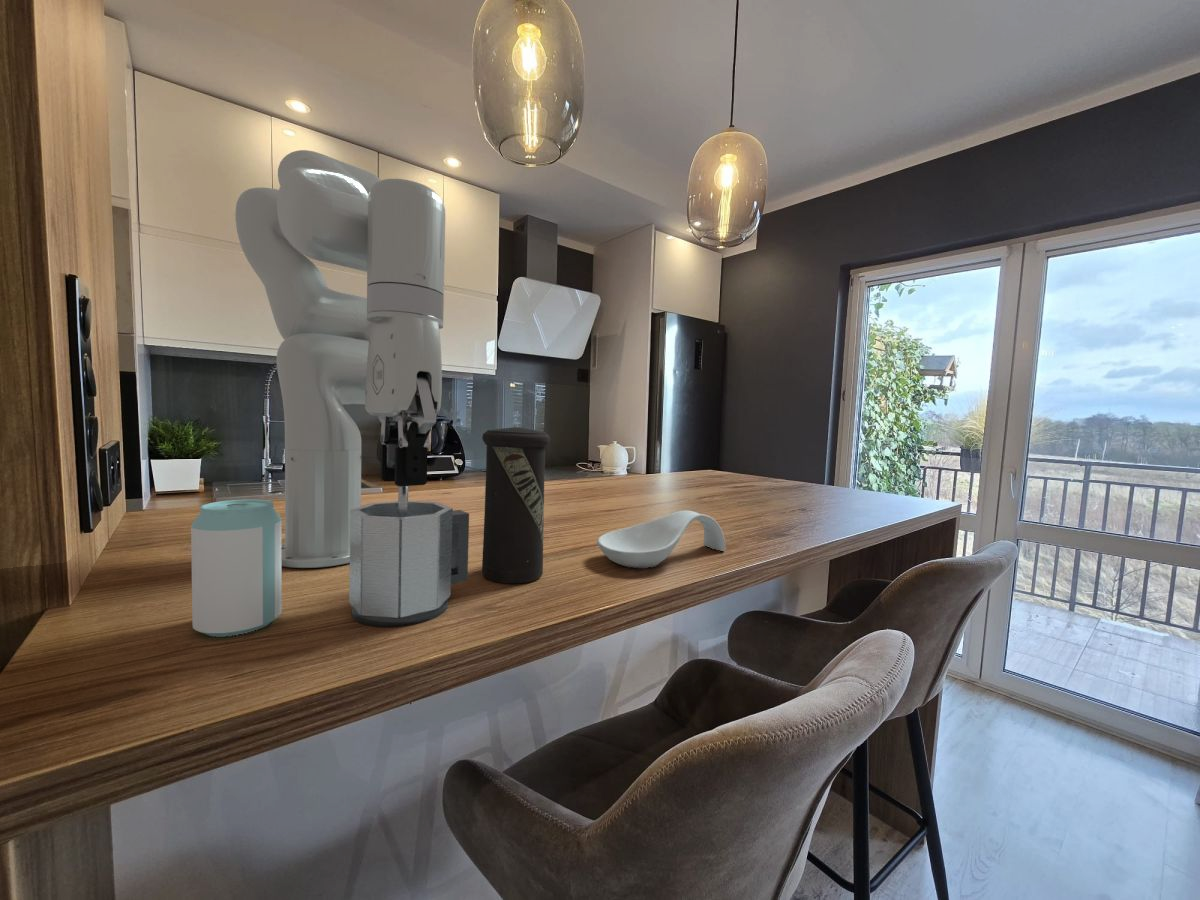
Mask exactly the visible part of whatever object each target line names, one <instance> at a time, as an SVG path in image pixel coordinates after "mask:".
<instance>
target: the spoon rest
mask: <svg viewBox="0 0 1200 900" xmlns="http://www.w3.org/2000/svg"><path fill="white" fill-rule="evenodd" d="M694 521H698V522H700V523H701V524H702V527H703V546H704V545H705V546H707V547H710V548H713V549H712V550H714V549H716V550H721V551H724V552H725V551H726V548H727V547H726V540H725V536H724V535H725V534H724V532H723V529H722V527H721V526H720V524H719V523H718V522H717V520H715V518H713V517H712V516H709V515H707V514H703V513H699V512H696V511H693V510H679V511H676V512H673V513H669V514H667V515H663V516H660V517H657V518H654V519H651V520H649V521H646V522H642V523H638V524H635V525H632V526H629V527H628V526H627V527H624V528H620V529H616V530H612V531H609V532H606V533H605V534H602V535H600V536H599V537H598V538H597V541H596V542H597V546H598V548H599V549H600V551H601V552H602V553H603V554H604V556H605V557H607V558H608V559H609V560H610V561H611V562H613V563H615V564H617V565H619V566H622V567H626V568H631V567H633V568H632V569H649V568H648V567H651V568H653V566H655V567H657V566H658V565H659V564H661V562H663V561H664V560H666V559H667V558H668V557H669V556H670V554H671V553H673V551H674V549H675V548H676V545H677V544H678V543H679V541H680V539H681V538H682V536H683V534H684V532H685V531H686V529H687V528H688V526H689V525H690V524H691V523H693V522H694ZM705 546H704V547H705ZM707 547H706V548H707ZM710 548H709V549H710ZM716 550H715V551H716ZM656 565H657V566H656Z"/></svg>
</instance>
